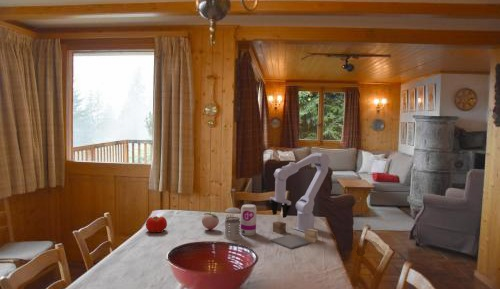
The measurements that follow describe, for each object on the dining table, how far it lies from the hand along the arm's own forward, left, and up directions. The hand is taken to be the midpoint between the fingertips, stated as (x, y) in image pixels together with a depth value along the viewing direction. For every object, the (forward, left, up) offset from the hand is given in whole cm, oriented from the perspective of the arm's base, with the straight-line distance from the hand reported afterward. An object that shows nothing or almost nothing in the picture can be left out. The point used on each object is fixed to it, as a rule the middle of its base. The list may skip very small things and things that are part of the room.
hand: (279, 215), depth 202 cm
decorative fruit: (+29, -24, -9) cm, 39 cm away
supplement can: (+16, -7, -9) cm, 20 cm away
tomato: (+53, -39, -9) cm, 66 cm away
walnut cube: (0, 0, -9) cm, 9 cm away
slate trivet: (+8, +16, -9) cm, 20 cm away
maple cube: (-3, +20, -9) cm, 22 cm away
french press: (+27, -7, -9) cm, 29 cm away
